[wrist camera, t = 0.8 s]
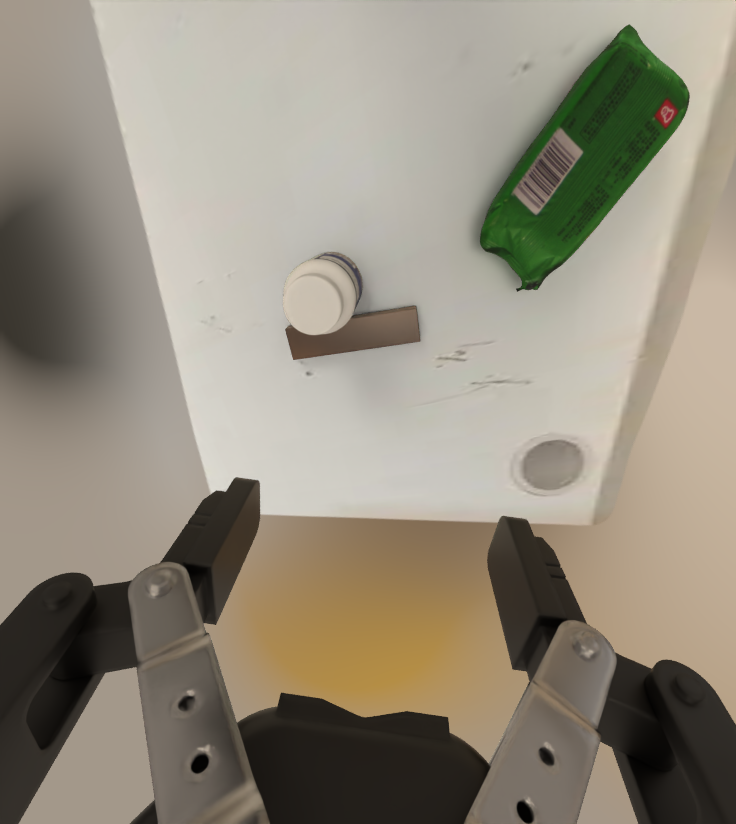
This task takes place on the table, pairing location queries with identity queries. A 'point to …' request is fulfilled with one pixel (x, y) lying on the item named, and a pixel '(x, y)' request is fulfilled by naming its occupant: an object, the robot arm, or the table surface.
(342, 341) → the bar
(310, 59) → the table surface
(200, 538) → the robot arm
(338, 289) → the pill bottle
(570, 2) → the table surface
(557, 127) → the snack package
